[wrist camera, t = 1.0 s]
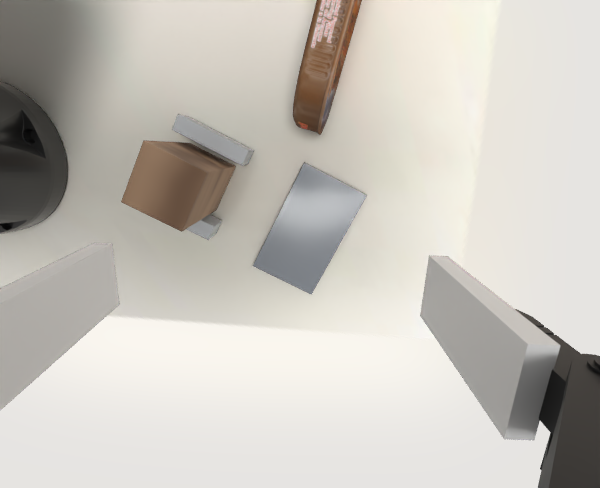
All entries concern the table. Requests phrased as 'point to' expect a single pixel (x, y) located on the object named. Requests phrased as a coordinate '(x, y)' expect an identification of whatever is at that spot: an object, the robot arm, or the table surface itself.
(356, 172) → the table surface
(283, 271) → the slate plate
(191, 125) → the cradle
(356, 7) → the tin
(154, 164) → the walnut block
